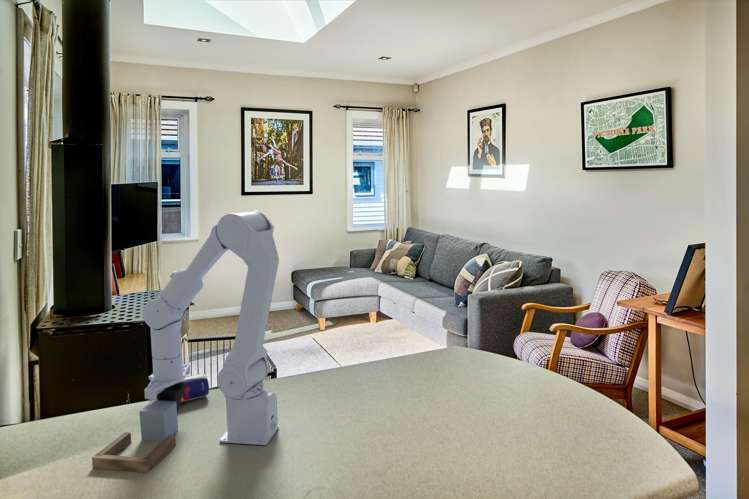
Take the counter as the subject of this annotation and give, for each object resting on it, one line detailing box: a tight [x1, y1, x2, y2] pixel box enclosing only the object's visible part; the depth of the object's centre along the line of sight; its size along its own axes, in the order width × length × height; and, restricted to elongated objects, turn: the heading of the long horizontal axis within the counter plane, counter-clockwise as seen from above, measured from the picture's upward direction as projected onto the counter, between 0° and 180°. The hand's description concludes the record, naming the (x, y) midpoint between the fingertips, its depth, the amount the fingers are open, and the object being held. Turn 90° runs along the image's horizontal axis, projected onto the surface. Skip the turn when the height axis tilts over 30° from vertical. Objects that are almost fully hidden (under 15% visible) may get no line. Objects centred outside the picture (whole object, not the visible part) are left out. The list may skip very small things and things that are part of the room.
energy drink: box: [149, 373, 210, 404], centre depth 126 cm, size 5×5×12 cm
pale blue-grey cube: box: [138, 400, 179, 442], centre depth 110 cm, size 5×6×6 cm
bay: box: [91, 431, 177, 473], centre depth 102 cm, size 10×10×2 cm
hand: (171, 418), depth 115 cm, fingers closed
